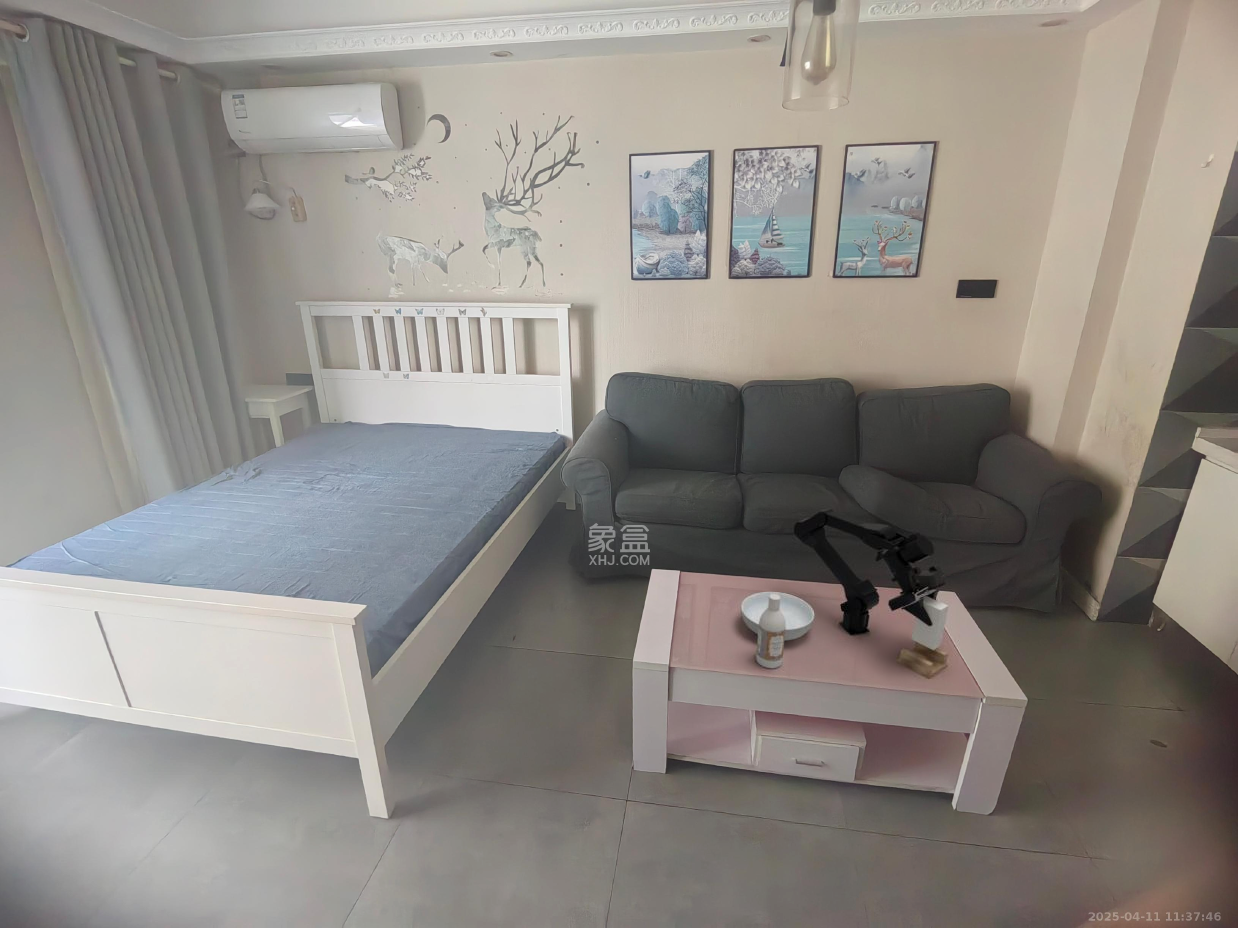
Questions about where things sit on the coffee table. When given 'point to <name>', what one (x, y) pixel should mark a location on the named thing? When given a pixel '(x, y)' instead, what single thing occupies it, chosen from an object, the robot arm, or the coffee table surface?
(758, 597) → the serving bowl
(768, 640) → the bath foam
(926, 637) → the white rectangular box
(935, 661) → the slot holder
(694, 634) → the coffee table surface
